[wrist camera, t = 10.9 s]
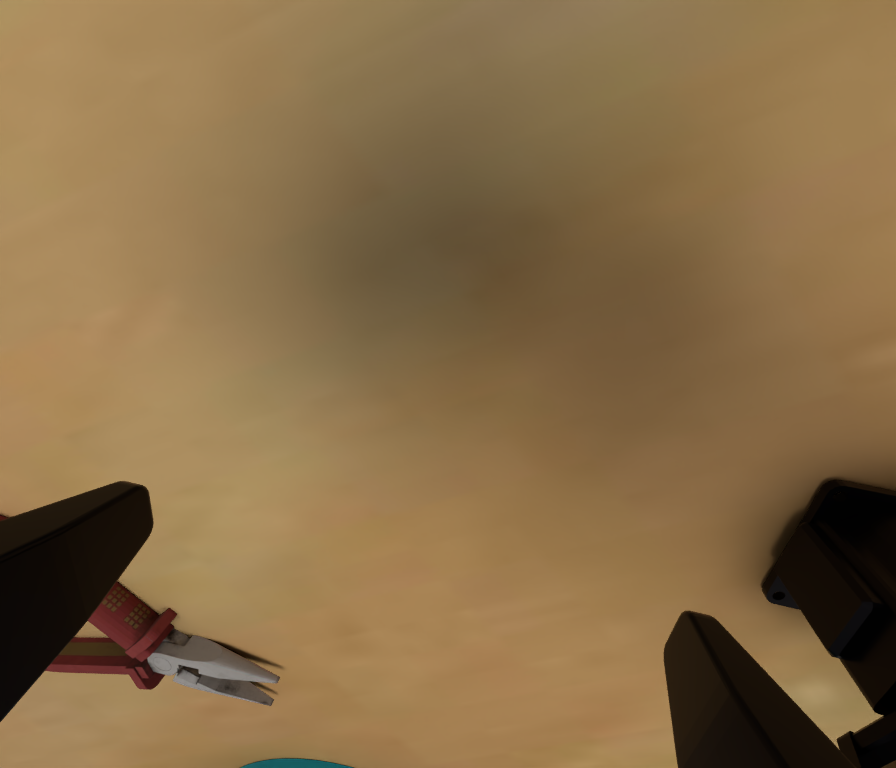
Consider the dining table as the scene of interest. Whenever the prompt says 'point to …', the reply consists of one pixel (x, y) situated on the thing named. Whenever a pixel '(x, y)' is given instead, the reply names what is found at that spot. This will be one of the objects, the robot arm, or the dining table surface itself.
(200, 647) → the pliers
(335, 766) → the pipe fitting
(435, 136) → the dining table surface
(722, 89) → the dining table surface
